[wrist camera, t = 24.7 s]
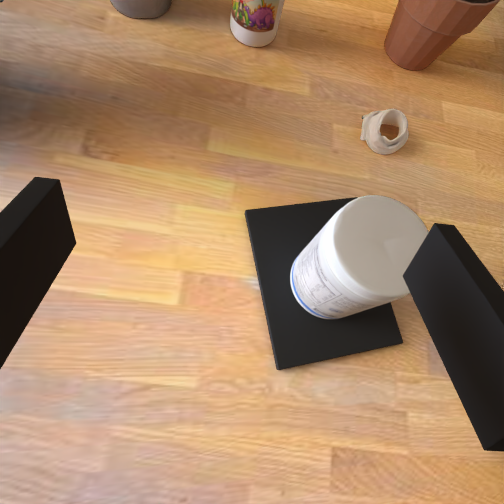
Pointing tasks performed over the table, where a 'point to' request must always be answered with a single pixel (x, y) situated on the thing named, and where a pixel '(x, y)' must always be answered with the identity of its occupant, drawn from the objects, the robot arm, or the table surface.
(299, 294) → the supplement tub
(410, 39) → the potted plant
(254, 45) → the milk bottle
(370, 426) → the table surface
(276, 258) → the mat
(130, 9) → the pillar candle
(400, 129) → the white wrapped ring
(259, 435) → the table surface
